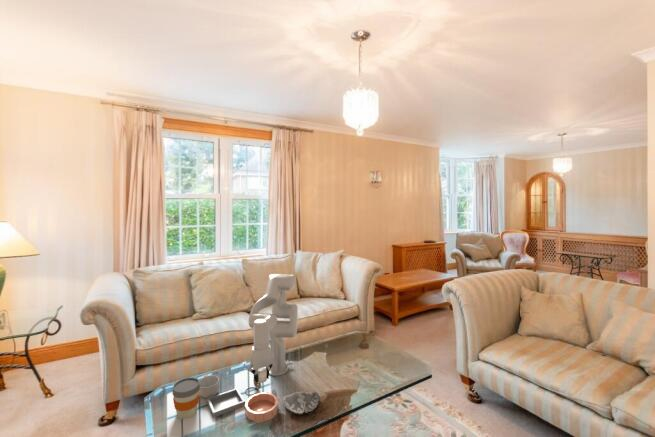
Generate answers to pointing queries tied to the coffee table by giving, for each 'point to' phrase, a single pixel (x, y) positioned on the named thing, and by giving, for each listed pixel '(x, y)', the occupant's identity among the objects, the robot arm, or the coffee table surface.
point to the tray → (225, 402)
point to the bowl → (261, 407)
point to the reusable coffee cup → (186, 397)
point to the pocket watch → (254, 387)
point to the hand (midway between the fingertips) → (261, 378)
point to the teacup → (209, 386)
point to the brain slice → (301, 402)
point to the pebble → (262, 375)
